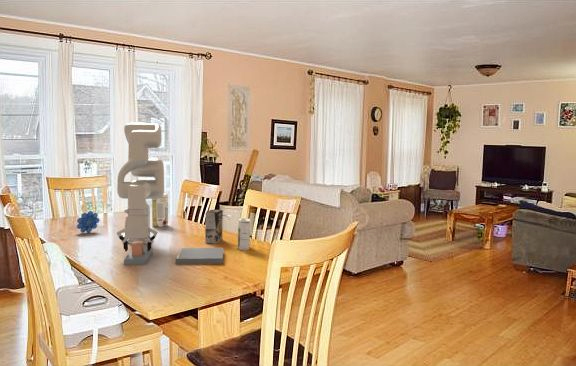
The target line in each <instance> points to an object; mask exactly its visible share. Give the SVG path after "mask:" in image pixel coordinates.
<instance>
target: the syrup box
mask: <svg viewBox="0 0 576 366" xmlns="http://www.w3.org/2000/svg"><path fill="white" fill-rule="evenodd" d="M237 230H238V231H237V250H238V251H240V250H241V251H242V250H243V251H246V250H247V251H248V250H250V246H251V245H250V244H251V218H245V217H243V218H238V229H237Z"/></svg>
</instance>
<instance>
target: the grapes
mask: <svg viewBox="0 0 576 366" xmlns="http://www.w3.org/2000/svg"><path fill="white" fill-rule="evenodd" d="M98 216H99V214H98V213H97V212H94V211H92V210H89V211H87V212H83V213H81V216H80V217H78V218H77V220H76V222H77V223H78V224H77V225H76V229H78V230H79V231H80V233H85V232H86V233H91V232H92V230H95V229H97V227H98V224H99V223H100V218H99V217H98Z"/></svg>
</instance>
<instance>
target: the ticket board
mask: <svg viewBox="0 0 576 366" xmlns="http://www.w3.org/2000/svg"><path fill="white" fill-rule="evenodd" d="M174 261H175V262H174V263H175V265H209V264H210V265H223V264H224V247H180V248H179V249H178V252H177V254H176V257H175V260H174Z"/></svg>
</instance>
